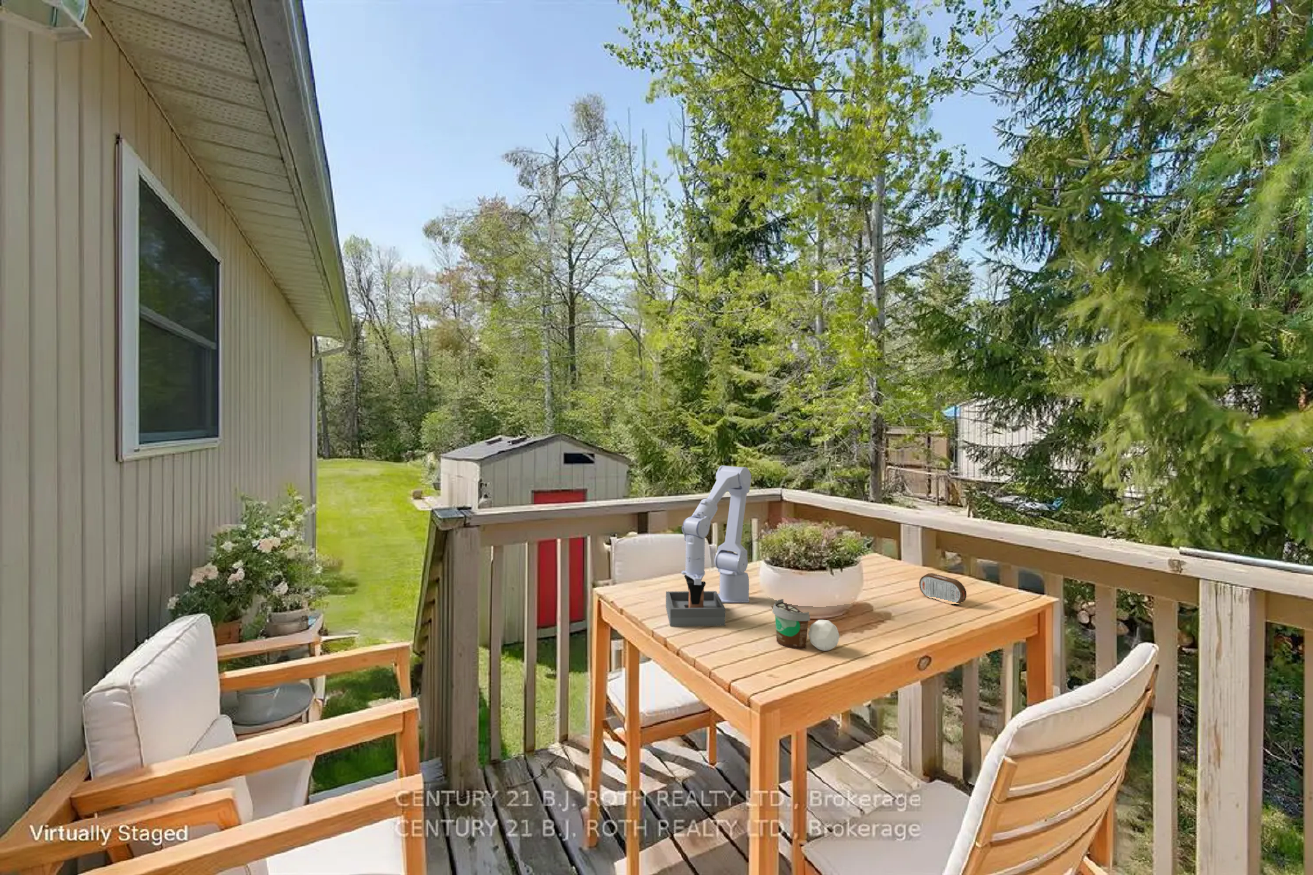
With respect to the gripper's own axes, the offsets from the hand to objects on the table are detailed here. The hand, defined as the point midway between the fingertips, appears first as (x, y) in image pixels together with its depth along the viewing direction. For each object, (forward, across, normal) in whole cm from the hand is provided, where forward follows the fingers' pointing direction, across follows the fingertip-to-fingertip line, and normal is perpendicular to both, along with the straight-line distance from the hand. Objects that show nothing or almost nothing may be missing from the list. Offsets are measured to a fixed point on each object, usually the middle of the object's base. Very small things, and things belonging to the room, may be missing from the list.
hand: (694, 601), depth 173 cm
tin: (+5, -11, +84) cm, 85 cm away
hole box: (+4, 0, 0) cm, 4 cm away
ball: (+5, +25, +31) cm, 40 cm away
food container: (+5, +21, +22) cm, 31 cm away
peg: (+3, 0, 0) cm, 3 cm away
